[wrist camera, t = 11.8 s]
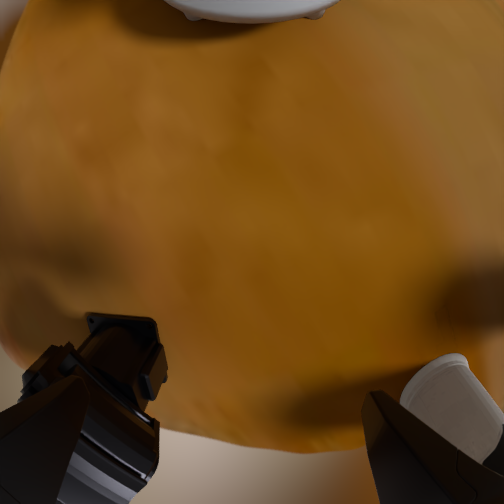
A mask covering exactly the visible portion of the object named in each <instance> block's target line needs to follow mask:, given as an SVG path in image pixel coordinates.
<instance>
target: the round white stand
mask: <svg viewBox="0 0 504 504" xmlns="http://www.w3.org/2000/svg"><path fill="white" fill-rule="evenodd" d="M164 1H165V2H166V3H168V4H169V5H171V6H172V7H174V8H176V9H178V10H180V11H182V12H183V13H184V14H185V16H186V18H187V19H188V20H191V21H197V20H200V19H202V18H204V19H208V20H214V21H220V22H229V23H249V24H256V23H273V22H281V21H288V20H293V19H298V18H302V17H307V18H309V19H319V18H321V17H322V16H323V14H324V12H325V10H326V9H327V8H329V7H331V6H333V5H334V4H336V3H338V2H339V1H340V0H164Z"/></svg>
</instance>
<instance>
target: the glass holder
mask: <svg viewBox="0 0 504 504" xmlns="http://www.w3.org/2000/svg"><path fill="white" fill-rule="evenodd" d="M400 404H401V405H402V406H403V407H405V408H406V409H407V410H408V411H410V412H411V413H412V414H414V415H415V416H416V417H417V418H419V419H420V420H421V421H423V422H424V423H425V424H427V425H428V426H429V427H430V428H432V429H433V430H434V431H436V432H437V433H438V434H440V435H441V436H442V437H444V438H445V439H446V440H448V441H449V442H450V443H452V444H453V445H454V446H456V447H457V450H458V449H460V450H461V451H463V452H464V453H465V454H467V455H468V456H470V457H471V458H472V459H474V460H475V461H477V462H478V463H480V464H482V465H483V466H485V467H487V468H488V469H490V470H492V471H494V472H496V473H498V474H500V475H501V476H503V477H504V414H503V412H502V411H501V410H500V408H499V407H498V406H497V404H496V403H495V402H494V400H493V399H492V398H491V396H490V395H489V394H488V392H487V391H486V390H485V388H484V387H483V386H482V384H481V383H480V382H479V381H478V379H477V378H476V377H475V376H474V374H473V373H472V372H471V371H470V369H469V367H468V362H467V360H466V358H465V357H464V356H463V355H461V354H458V353H451V354H446V355H443V356H441V357H439V358H437V359H435V360H433V361H431V362H430V363H428V364H427V365H425V366H424V367H423V368H422V369H421V370H419V371H418V372H417V373H416V374H415V375H414V376H413V377H412V379H411V380H410V381H409V382H408V384H407V385H406V387H405V388H404V390H403V392H402V395H401V398H400Z"/></svg>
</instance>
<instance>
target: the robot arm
mask: <svg viewBox="0 0 504 504" xmlns="http://www.w3.org/2000/svg"><path fill="white" fill-rule="evenodd" d="M92 319H93V320H94V321H93V320H92ZM87 322H88V326H89V329H90V333H91V334H90V335H89V336H88V337H87V339H86V340H85V341H84V342H83V343H82V345H81V346H80V347H79V348H78V349H77V350H75V349H74V346H73V345H72V344H71V343H70V341H69V342H68V343H67V344H66V345H65V346H64V347H63V346H62V345H61V346H60V347H58V346H55V345H51V346H50V347H49V348H48V349H47V350H46V351H45V352H44V353H43V354H42V355H41V356H40V358H39V359H37V360H36V361H35V362H34V363H33V364H32V365H31V366H30V367H29V368H28V369H27V370H26V371H25V373H24V374H23V375H22V381H23V389H22V390H21V393H22V396H21V397H20V398H19V399H18V401H17V402H18V403H17V404H16V405H13V406H12V407H10V408H8V409H6V410H4V411H2V412H0V504H129V502H130V501H131V500H132V499H133V497H134V496H135V495H136V494H137V493H138V492H139V491H140V490H141V489H142V488H143V487H145V486H146V485H147V482H148V481H149V480H150V479H151V477H152V476H153V474H154V473H155V471H156V469H157V466H158V463H159V430H160V422H159V421H157V420H156V419H155V418H152V417H150V416H149V415H148V414H146V413H145V412H144V411H145V409H146V406H147V404H148V402H149V401H154V400H155V399H156V397H157V394H158V392H159V389H160V387H161V384H162V383H165V382H166V381H167V378H168V376H167V370H168V366H167V361H166V356H165V351H164V346H163V345H162V344H161V343H160V339H159V334H158V328H157V324H156V322H155V321H154V320H153V319H148V318H135V317H123V316H112V315H102V314H90V315H89V316H88V317H87ZM148 324H151V325H152V327H150V326H149V325H148ZM361 414H362V421H363V427H364V434H365V441H366V448H367V454H368V458H369V462H370V466H371V470H372V474H373V477H374V481H375V485H376V489H377V493H378V497H379V501H380V504H504V477H503V476H501V475H500V474H498V473H496V472H494V471H492V470H490V469H488V468H487V467H485V466H483V465H482V464H480V463H478V462H477V461H475V460H474V459H472V458H471V457H470V456H468V455H467V454H465V453H464V452H463V451H461V450H460V449H458V450H457V447H456V446H454V445H453V444H452V443H450V442H449V441H448V440H446V439H445V438H444V437H442V436H441V435H440V434H438V433H437V432H436V431H434V430H433V429H432V428H430V427H429V426H428V425H427V424H425V423H424V422H423V421H421V420H420V419H419V418H417V417H416V416H415V415H414V414H412V413H411V412H410V411H408V410H407V409H406V408H405V407H403V406H402V405H401V404H399V403H398V402H397V401H396V400H394V399H393V398H392V397H390V396H389V395H388V394H387V393H385V392H384V391H383V390H381V389H378V390H371V391H368V393H367V395H366V398H365V401H364V404H363V407H362V411H361Z"/></svg>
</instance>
